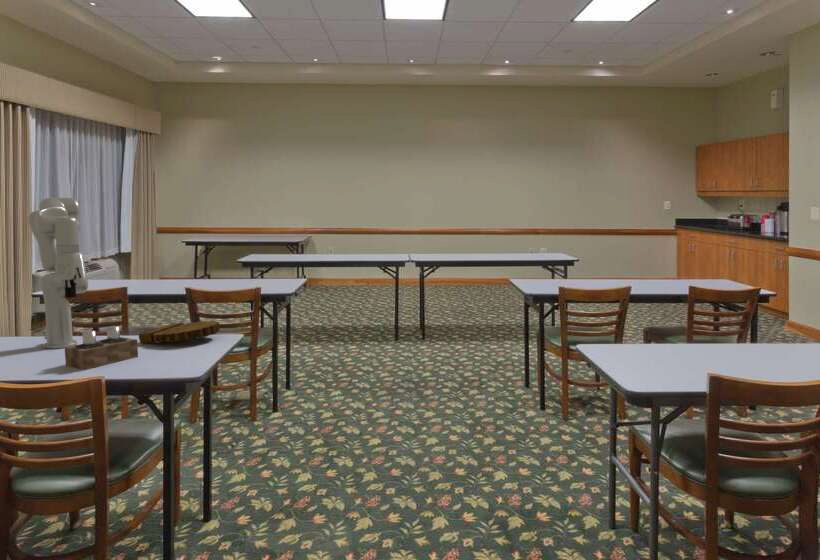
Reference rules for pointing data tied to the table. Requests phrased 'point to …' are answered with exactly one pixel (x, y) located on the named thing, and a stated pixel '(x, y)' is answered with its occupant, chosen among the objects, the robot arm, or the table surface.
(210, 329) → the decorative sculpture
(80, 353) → the socket block
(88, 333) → the peg near
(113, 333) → the peg far
